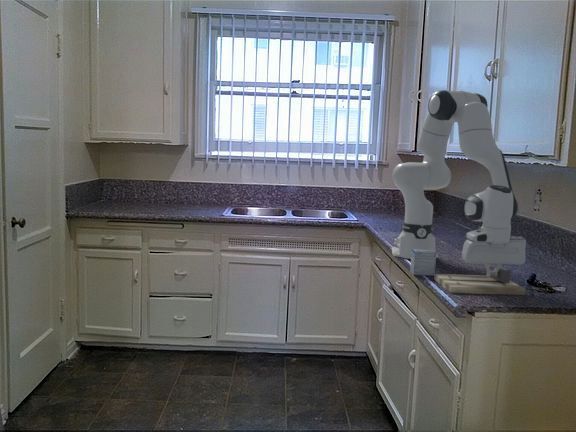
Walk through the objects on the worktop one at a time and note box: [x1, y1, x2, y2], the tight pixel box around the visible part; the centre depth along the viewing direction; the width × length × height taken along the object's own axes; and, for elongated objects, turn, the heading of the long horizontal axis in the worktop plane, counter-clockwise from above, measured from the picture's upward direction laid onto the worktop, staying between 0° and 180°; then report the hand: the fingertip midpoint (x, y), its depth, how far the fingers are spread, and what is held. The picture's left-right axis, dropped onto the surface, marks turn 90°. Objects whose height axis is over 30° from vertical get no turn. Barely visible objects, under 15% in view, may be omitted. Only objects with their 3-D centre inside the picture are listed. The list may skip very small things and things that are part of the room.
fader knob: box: [494, 266, 512, 282], centre depth 170 cm, size 5×3×4 cm, turn 2°
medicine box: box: [409, 249, 438, 277], centre depth 184 cm, size 8×4×9 cm, turn 92°
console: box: [433, 273, 526, 296], centre depth 170 cm, size 16×24×2 cm, turn 92°
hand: (491, 276), depth 170 cm, fingers closed
